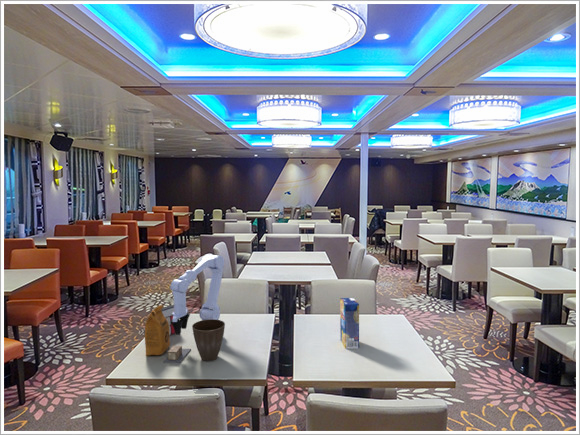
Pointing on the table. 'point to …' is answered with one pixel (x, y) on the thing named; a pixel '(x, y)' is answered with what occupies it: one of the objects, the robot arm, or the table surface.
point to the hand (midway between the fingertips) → (181, 331)
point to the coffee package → (156, 333)
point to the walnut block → (174, 352)
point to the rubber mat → (184, 353)
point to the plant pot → (208, 338)
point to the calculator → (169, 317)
